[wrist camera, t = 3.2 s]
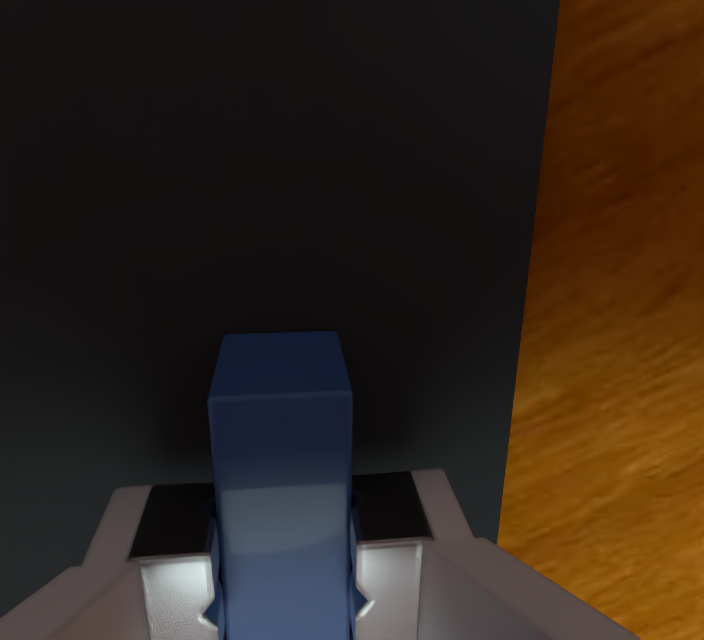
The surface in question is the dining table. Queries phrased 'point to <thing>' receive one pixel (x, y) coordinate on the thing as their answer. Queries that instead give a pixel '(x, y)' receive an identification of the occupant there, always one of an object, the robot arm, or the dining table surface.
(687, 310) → the dining table surface
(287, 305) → the mat
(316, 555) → the blue spoon
